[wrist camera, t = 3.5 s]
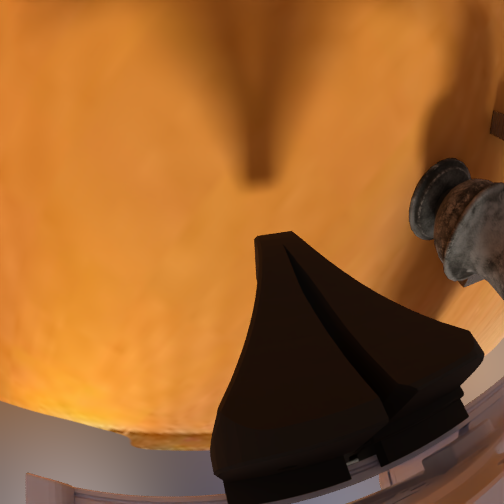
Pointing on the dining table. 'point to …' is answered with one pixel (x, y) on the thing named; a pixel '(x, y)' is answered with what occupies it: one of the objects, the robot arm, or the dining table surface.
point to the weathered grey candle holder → (461, 221)
